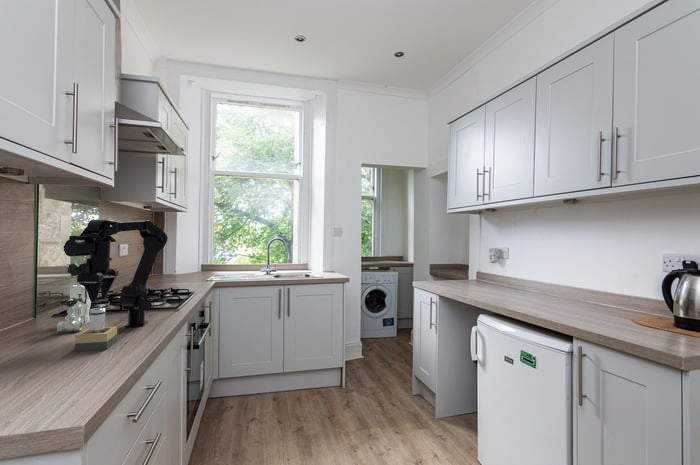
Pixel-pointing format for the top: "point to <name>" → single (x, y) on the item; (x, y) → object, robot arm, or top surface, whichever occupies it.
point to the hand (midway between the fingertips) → (98, 299)
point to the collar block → (95, 339)
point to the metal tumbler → (97, 320)
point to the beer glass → (81, 303)
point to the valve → (70, 317)
